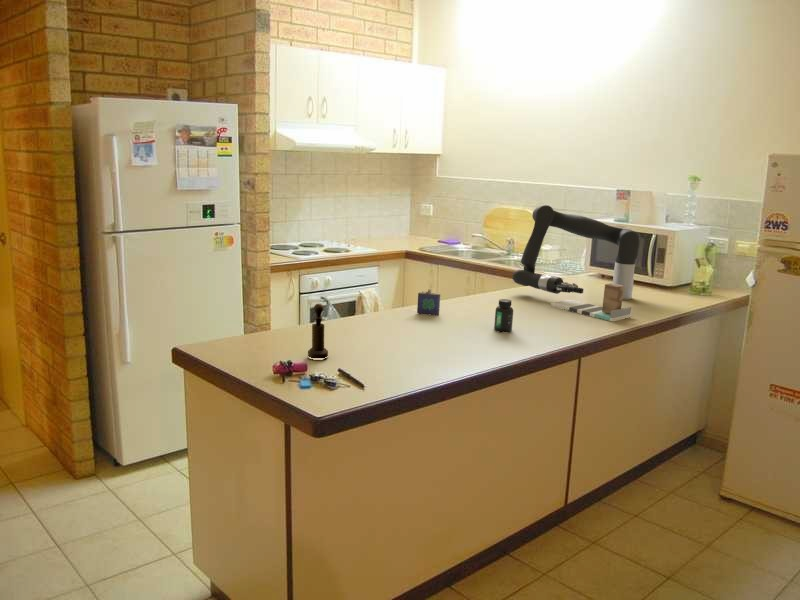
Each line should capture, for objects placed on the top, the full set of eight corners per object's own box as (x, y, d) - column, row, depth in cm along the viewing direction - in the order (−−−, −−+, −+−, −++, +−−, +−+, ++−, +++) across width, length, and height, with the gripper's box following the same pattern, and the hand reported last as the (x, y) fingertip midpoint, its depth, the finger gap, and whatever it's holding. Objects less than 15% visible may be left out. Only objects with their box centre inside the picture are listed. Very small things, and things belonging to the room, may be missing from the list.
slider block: (608, 310, 300) (611, 283, 297) (620, 313, 295) (624, 285, 292) (601, 311, 296) (605, 284, 294) (614, 314, 292) (617, 287, 289)
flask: (439, 314, 288) (440, 288, 285) (439, 315, 285) (440, 290, 282) (417, 312, 288) (418, 287, 286) (416, 314, 285) (418, 289, 283)
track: (569, 302, 320) (570, 293, 319) (630, 317, 297) (631, 307, 296) (550, 306, 311) (551, 296, 310) (611, 321, 288) (613, 311, 287)
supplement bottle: (498, 333, 263) (500, 302, 260) (491, 328, 269) (493, 298, 266) (514, 332, 264) (517, 302, 262) (507, 327, 271) (509, 298, 268)
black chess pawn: (308, 354, 226) (309, 301, 222) (328, 354, 227) (329, 301, 223) (307, 360, 220) (308, 306, 216) (327, 361, 220) (328, 306, 216)
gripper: (542, 277, 313) (574, 284, 301) (560, 274, 322) (591, 281, 309) (541, 293, 315) (572, 301, 302) (558, 290, 323) (590, 297, 311)
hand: (582, 291), depth 306 cm, fingers closed
